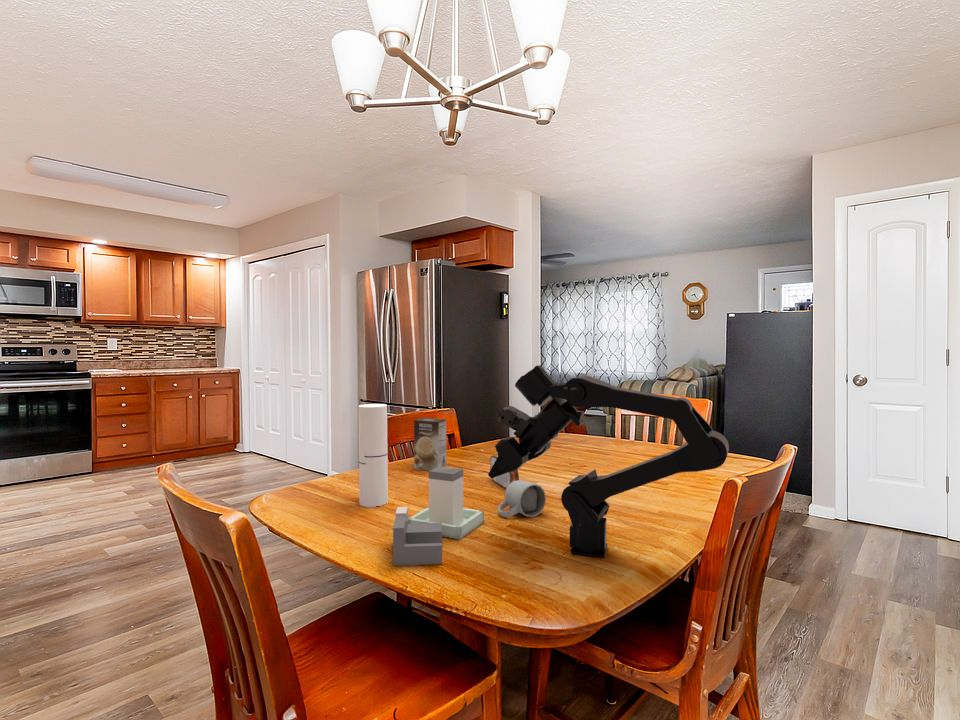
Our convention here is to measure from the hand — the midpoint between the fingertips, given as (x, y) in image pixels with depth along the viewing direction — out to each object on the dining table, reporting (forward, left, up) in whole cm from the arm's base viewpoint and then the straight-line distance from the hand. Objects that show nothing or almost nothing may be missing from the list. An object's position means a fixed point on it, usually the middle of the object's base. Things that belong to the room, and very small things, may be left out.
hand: (498, 471), depth 113 cm
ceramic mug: (-1, -15, -14) cm, 20 cm away
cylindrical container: (+37, -11, -14) cm, 41 cm away
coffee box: (+38, -49, -14) cm, 63 cm away
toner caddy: (+13, -1, -13) cm, 18 cm away
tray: (+13, -1, -14) cm, 19 cm away
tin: (+10, -37, -14) cm, 41 cm away
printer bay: (+12, +14, -14) cm, 23 cm away
